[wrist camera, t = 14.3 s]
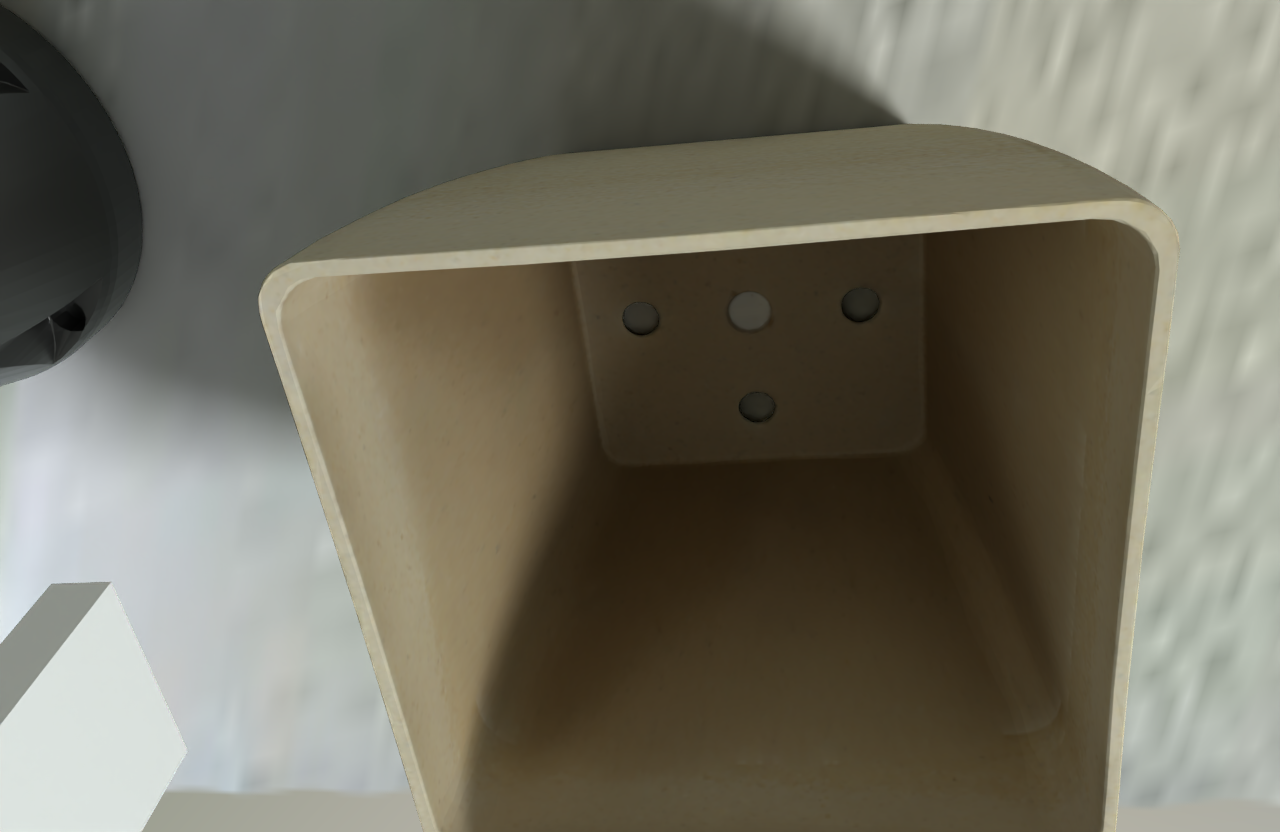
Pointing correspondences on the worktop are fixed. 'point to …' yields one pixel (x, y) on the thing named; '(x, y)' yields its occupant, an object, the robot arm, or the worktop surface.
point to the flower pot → (744, 480)
